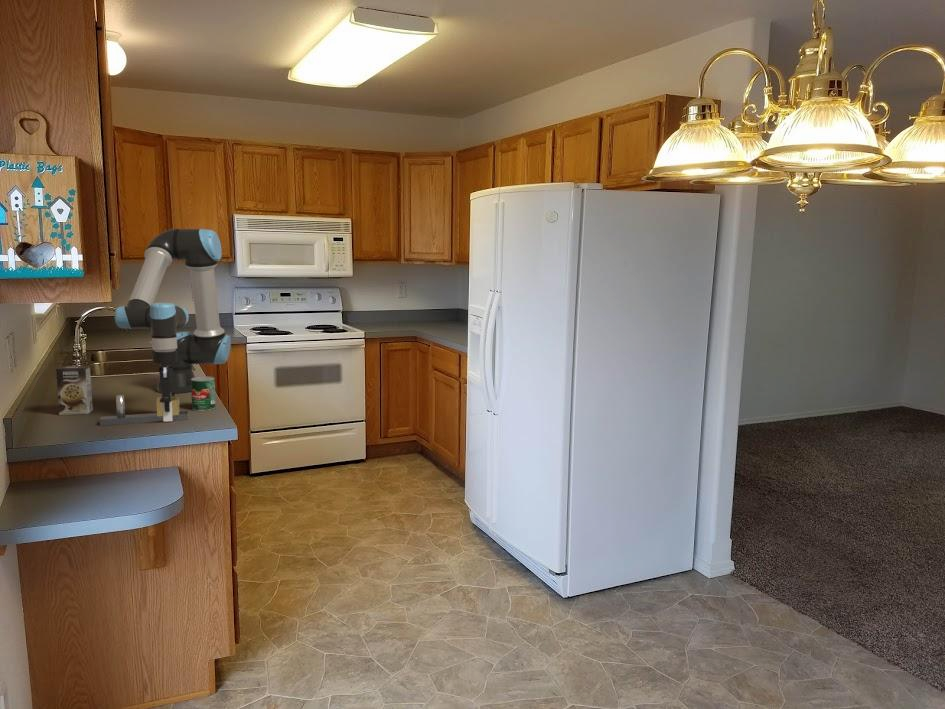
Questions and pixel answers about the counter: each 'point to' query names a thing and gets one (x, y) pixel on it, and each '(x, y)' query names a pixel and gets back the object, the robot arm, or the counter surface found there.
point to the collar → (174, 406)
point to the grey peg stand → (136, 418)
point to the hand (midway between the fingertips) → (168, 418)
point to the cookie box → (74, 390)
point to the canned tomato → (203, 393)
